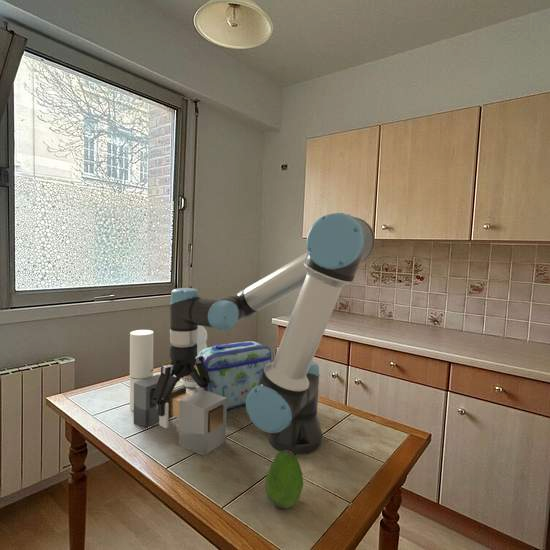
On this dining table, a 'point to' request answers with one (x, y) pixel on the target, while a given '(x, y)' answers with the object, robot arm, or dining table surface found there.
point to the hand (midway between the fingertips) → (182, 416)
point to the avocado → (284, 480)
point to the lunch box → (235, 369)
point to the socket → (145, 402)
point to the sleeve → (201, 422)
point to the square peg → (174, 408)
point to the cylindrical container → (140, 358)
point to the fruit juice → (201, 345)
